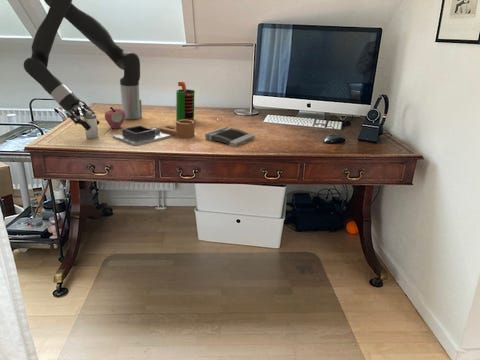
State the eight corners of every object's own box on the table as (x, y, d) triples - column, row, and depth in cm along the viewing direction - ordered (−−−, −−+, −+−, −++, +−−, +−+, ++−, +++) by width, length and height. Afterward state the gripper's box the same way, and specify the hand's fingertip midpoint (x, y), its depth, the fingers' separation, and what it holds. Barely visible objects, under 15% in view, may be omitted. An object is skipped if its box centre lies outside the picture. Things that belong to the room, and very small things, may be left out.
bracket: (197, 135, 182) (198, 121, 179) (187, 140, 175) (187, 125, 172) (167, 129, 189) (166, 115, 187) (155, 133, 183) (155, 118, 180)
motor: (190, 123, 201) (190, 84, 193) (173, 122, 202) (172, 82, 194) (196, 119, 210) (196, 81, 202) (180, 117, 211) (179, 80, 204)
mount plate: (149, 129, 186) (149, 121, 185) (171, 137, 177) (171, 128, 175) (112, 137, 172) (112, 128, 171) (134, 145, 163) (133, 136, 161)
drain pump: (94, 135, 173) (91, 110, 169) (100, 138, 170) (98, 112, 166) (83, 137, 170) (81, 111, 165) (89, 140, 167) (87, 113, 163)
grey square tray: (226, 126, 189) (255, 129, 181) (226, 135, 190) (255, 139, 182) (205, 133, 175) (235, 137, 167) (205, 143, 177) (235, 147, 169)
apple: (106, 130, 181) (105, 109, 178) (104, 126, 189) (102, 105, 185) (127, 129, 185) (126, 108, 182) (124, 124, 193) (123, 104, 189)
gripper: (61, 95, 157) (91, 125, 160) (78, 89, 170) (106, 117, 173) (50, 107, 159) (80, 136, 163) (68, 100, 172) (95, 127, 176)
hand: (93, 126), depth 168 cm, fingers open, 8 cm apart
